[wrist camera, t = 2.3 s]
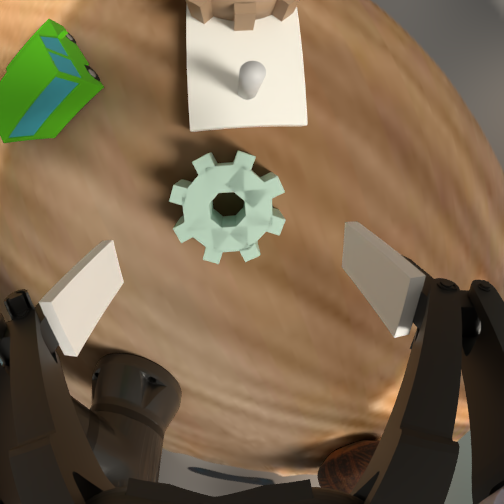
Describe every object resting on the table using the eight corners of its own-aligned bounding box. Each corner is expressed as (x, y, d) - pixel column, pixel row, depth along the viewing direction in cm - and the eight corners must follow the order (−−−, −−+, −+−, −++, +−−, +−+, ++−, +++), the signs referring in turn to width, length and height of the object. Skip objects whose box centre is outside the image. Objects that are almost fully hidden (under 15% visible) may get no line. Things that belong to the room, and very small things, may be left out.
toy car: (74, 20, 17) (31, -5, 8) (115, 82, 22) (67, 62, 12) (21, 77, 18) (-29, 71, 9) (55, 143, 23) (-2, 151, 14)
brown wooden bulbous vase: (300, 469, 57) (316, 553, 29) (335, 435, 49) (367, 541, 21) (361, 461, 60) (384, 532, 33) (401, 425, 53) (437, 508, 25)
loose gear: (185, 251, 29) (179, 267, 26) (173, 156, 25) (164, 158, 22) (279, 244, 30) (286, 258, 26) (276, 148, 26) (283, 148, 22)
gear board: (186, 132, 25) (164, 127, 16) (184, -33, 16) (172, -75, 8) (308, 126, 25) (342, 120, 17) (291, -36, 16) (308, -77, 8)
